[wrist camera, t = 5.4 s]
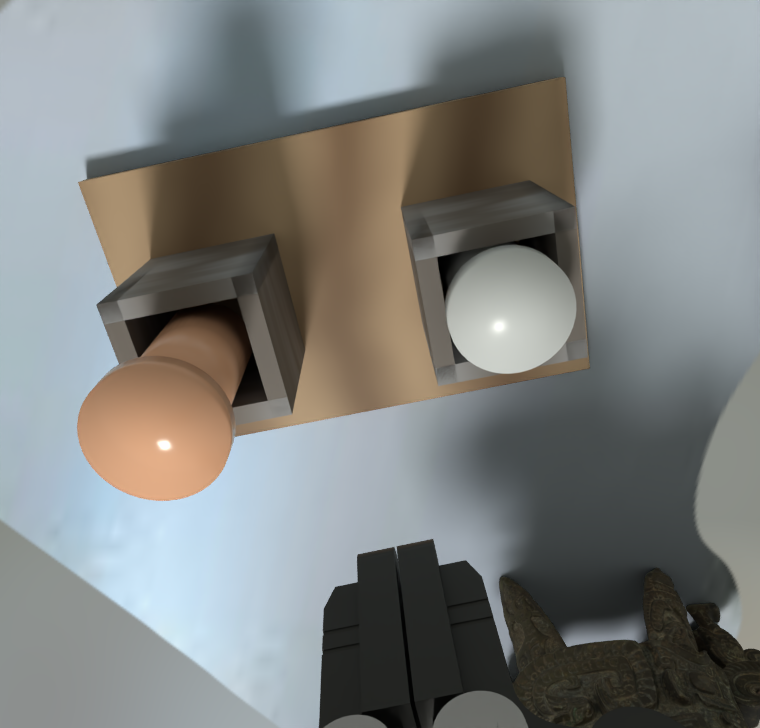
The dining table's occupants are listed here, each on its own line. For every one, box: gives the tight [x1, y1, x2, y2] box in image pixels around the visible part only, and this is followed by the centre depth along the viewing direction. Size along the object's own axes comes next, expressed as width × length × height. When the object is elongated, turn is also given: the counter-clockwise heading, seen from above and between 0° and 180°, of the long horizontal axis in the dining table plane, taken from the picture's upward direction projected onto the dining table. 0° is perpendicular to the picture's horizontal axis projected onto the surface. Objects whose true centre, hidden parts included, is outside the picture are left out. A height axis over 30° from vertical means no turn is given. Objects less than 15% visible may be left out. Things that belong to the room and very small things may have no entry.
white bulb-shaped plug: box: [438, 241, 576, 374], centre depth 28 cm, size 5×5×8 cm
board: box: [78, 77, 590, 437], centre depth 29 cm, size 22×14×8 cm, turn 101°
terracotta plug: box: [77, 303, 252, 501], centre depth 24 cm, size 5×5×8 cm
